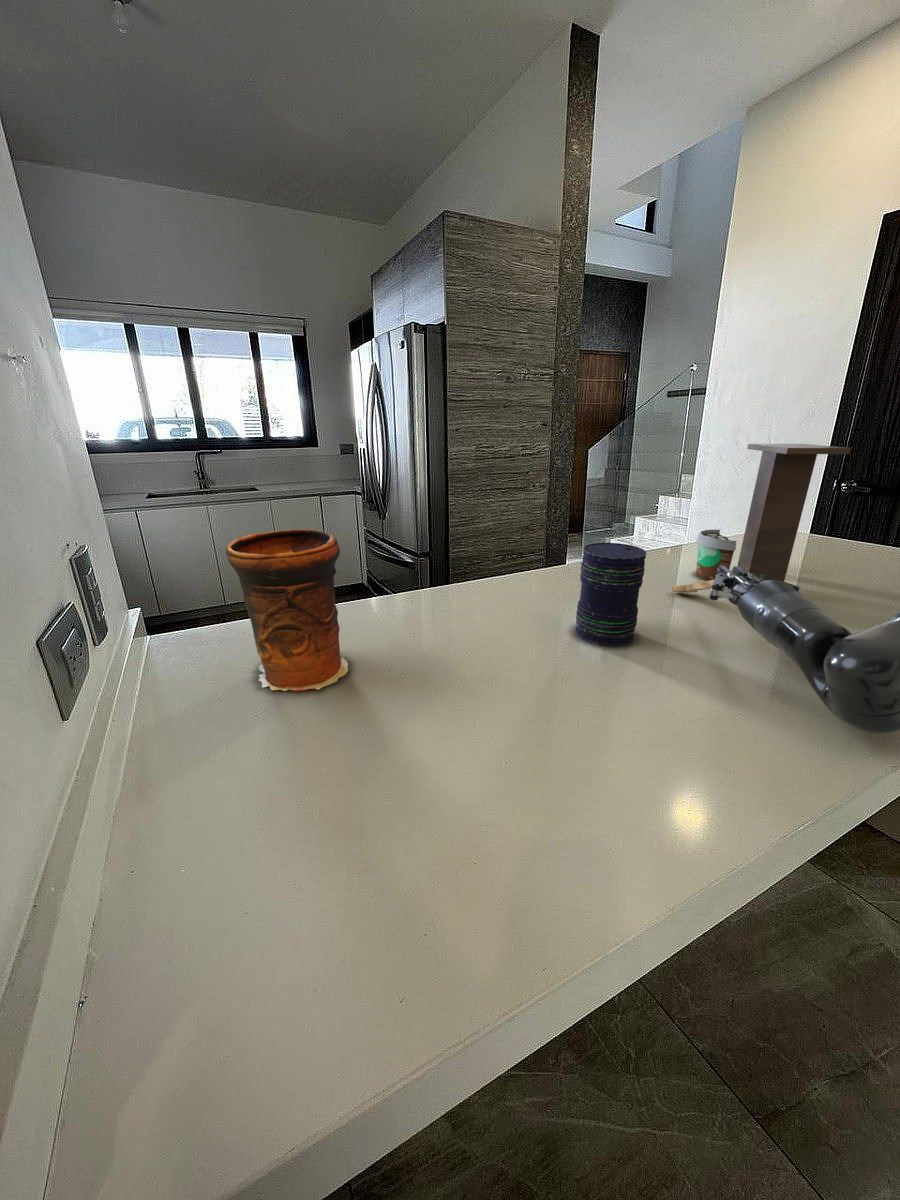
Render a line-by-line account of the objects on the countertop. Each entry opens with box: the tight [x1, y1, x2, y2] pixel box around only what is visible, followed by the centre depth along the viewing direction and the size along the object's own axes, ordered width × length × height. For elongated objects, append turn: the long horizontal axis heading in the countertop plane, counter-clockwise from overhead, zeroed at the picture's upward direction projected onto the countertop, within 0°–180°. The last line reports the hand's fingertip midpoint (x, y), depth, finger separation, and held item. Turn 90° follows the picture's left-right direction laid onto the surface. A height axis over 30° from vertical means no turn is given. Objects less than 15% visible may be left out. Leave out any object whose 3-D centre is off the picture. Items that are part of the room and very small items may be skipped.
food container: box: [695, 529, 737, 581], centre depth 110 cm, size 12×6×10 cm, turn 168°
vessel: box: [225, 528, 349, 692], centre depth 67 cm, size 14×14×20 cm
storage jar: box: [574, 542, 647, 648], centre depth 80 cm, size 10×10×15 cm
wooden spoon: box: [671, 580, 714, 594], centre depth 91 cm, size 22×5×1 cm, turn 177°
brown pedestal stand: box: [737, 443, 852, 582], centre depth 92 cm, size 14×10×30 cm
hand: (727, 571), depth 82 cm, fingers closed on wooden spoon
